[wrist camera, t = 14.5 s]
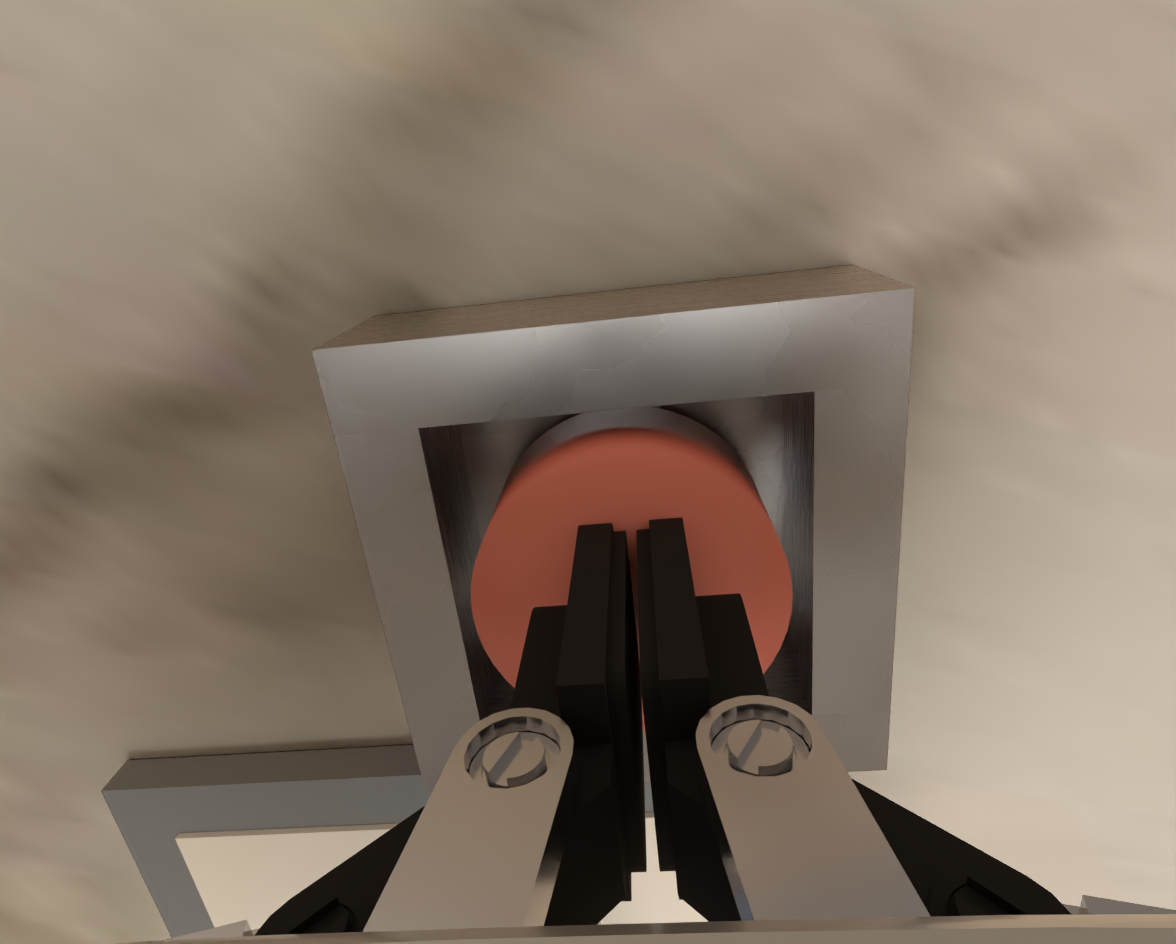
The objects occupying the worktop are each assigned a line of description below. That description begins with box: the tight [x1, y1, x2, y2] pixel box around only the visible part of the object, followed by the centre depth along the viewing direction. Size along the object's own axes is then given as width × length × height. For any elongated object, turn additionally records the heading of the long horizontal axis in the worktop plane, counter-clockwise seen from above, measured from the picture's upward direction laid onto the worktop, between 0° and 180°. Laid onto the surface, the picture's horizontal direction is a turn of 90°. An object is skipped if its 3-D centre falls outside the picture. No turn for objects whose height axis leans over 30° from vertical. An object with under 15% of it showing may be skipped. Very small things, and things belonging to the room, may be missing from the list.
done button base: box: [312, 265, 915, 792], centre depth 14 cm, size 9×9×3 cm
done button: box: [471, 407, 793, 732], centre depth 13 cm, size 5×5×3 cm
